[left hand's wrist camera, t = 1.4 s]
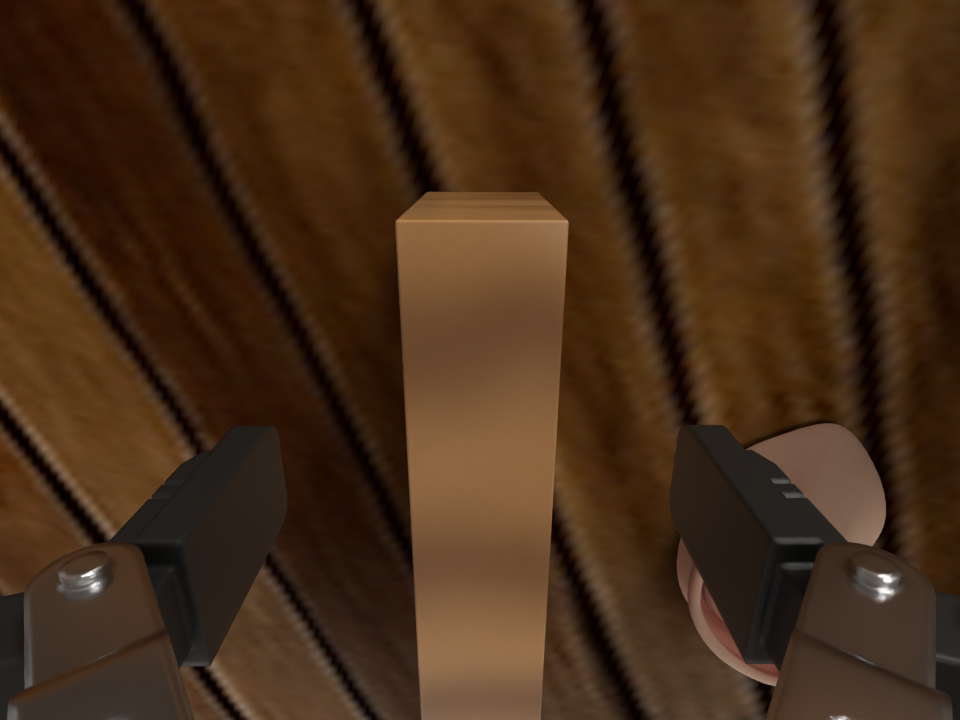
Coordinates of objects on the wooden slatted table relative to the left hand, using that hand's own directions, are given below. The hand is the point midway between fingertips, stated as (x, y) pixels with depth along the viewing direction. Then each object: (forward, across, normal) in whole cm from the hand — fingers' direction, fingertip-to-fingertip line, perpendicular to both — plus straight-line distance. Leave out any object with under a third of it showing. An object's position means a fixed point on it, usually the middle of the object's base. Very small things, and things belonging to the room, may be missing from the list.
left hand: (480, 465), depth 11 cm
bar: (+16, 0, -8) cm, 18 cm away
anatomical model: (+16, +16, -14) cm, 27 cm away
